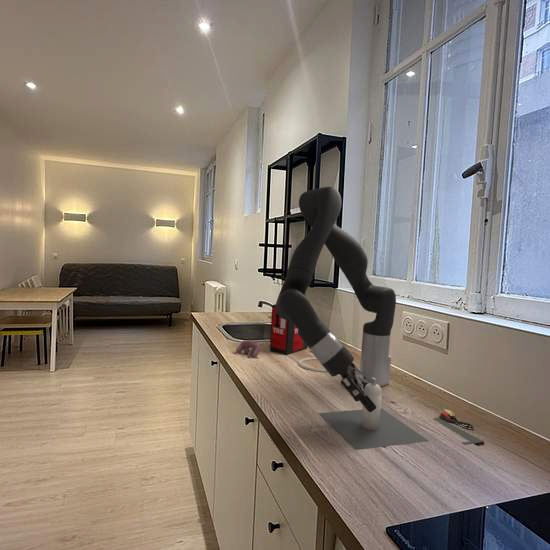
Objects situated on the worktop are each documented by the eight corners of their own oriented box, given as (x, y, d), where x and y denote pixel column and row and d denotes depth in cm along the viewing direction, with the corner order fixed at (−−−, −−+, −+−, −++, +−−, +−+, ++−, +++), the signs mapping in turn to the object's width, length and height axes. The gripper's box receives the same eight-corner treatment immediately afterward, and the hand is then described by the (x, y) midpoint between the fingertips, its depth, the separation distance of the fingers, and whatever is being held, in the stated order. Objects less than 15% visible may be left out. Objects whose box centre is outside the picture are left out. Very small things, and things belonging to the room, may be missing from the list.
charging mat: (381, 410, 116) (381, 407, 116) (428, 443, 97) (429, 440, 97) (317, 415, 109) (317, 413, 109) (355, 452, 91) (355, 449, 90)
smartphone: (438, 417, 112) (485, 441, 98) (437, 420, 112) (485, 445, 99) (418, 420, 109) (464, 445, 96) (418, 423, 109) (464, 449, 96)
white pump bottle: (372, 421, 106) (376, 375, 105) (382, 429, 102) (386, 380, 101) (358, 423, 105) (361, 376, 104) (367, 430, 100) (371, 381, 100)
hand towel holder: (291, 350, 161) (336, 348, 169) (290, 361, 162) (335, 358, 169) (310, 362, 146) (359, 359, 153) (310, 374, 146) (358, 370, 154)
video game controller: (259, 360, 164) (264, 344, 166) (253, 357, 161) (259, 340, 163) (239, 356, 169) (244, 340, 172) (234, 353, 166) (239, 336, 168)
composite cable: (475, 430, 107) (476, 421, 106) (462, 433, 105) (463, 423, 105) (446, 415, 116) (447, 406, 115) (433, 417, 114) (434, 408, 113)
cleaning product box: (286, 355, 169) (289, 307, 167) (269, 351, 174) (272, 304, 173) (307, 348, 182) (310, 304, 181) (290, 344, 187) (293, 301, 186)
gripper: (340, 351, 97) (385, 405, 95) (344, 339, 111) (385, 386, 109) (316, 369, 99) (361, 423, 97) (324, 355, 112) (363, 402, 110)
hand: (373, 403), depth 103 cm, fingers open, 8 cm apart
